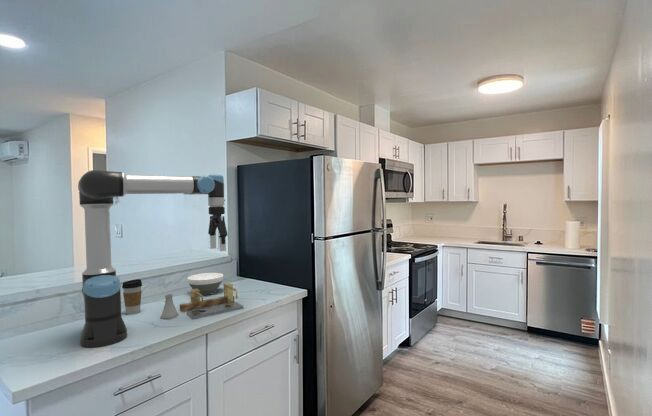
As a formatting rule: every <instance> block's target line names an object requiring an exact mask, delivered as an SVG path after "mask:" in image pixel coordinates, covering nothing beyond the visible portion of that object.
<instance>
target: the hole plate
mask: <svg viewBox="0 0 652 416" xmlns="http://www.w3.org/2000/svg"><path fill="white" fill-rule="evenodd" d="M244 306H245V305H243V304H241V303H239V302H237V301H234V302H231V303H226V304H221V305H216V306H211V307H206V308H200V309H195V310H190V311H186V315H187V316H188V317H189V318H190V319H191V320H196V319H198V318H203V317H209V316H213V315H218V314H223V313H229V312H234V311H237V310H242V309H244Z"/></svg>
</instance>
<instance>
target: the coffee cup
mask: <svg viewBox="0 0 652 416" xmlns="http://www.w3.org/2000/svg"><path fill="white" fill-rule="evenodd" d="M142 282H143V281H142V279H139V278H138V279H137V278H136V279H131V280H128V281H127V280H126V281H124V282H122V284H121V289H122V290H123V294H122V295H123V300H124V301H123V302H124V307H125V314H127V315H135V314H139V313H140V312H141V303H142V302H141V301H142V286H143V283H142Z"/></svg>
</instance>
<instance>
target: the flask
mask: <svg viewBox="0 0 652 416" xmlns="http://www.w3.org/2000/svg"><path fill="white" fill-rule="evenodd" d="M173 295H174V294H173V293H167V294H165V295H164V297H165V302H164V305H163V309H162V311H161V314H160V319H163V320H170V319H173V318H177V317H178V316H179V312H178V311H177V308H176V306H175V304H174V301H173Z"/></svg>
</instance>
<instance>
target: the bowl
mask: <svg viewBox="0 0 652 416" xmlns="http://www.w3.org/2000/svg"><path fill="white" fill-rule="evenodd" d="M223 280H224V274H223V273H220V272H203V273H198V274H197V273H196V274H192V275H190V276H188V277H187V283H188V285H189V286H190V287H191V289H198V290H200V294H201V295H203V296H207V295H208V294H209V295H213V294H215V293H217V290H218V289H219V288H220V286H221V284H222V282H223Z"/></svg>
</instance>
